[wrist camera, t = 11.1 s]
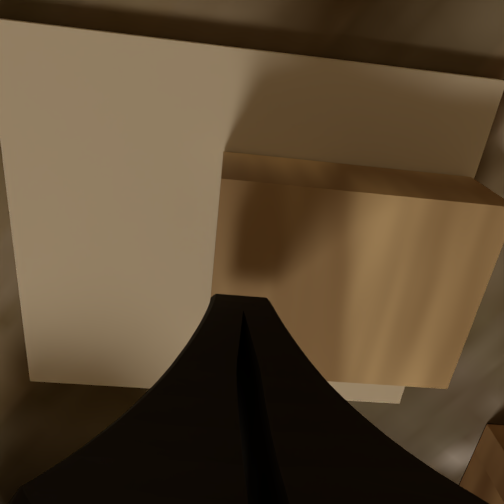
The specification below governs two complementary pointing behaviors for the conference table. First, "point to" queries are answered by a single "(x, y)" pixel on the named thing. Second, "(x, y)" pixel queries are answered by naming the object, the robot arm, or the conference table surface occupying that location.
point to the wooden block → (360, 261)
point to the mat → (181, 175)
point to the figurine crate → (487, 467)
